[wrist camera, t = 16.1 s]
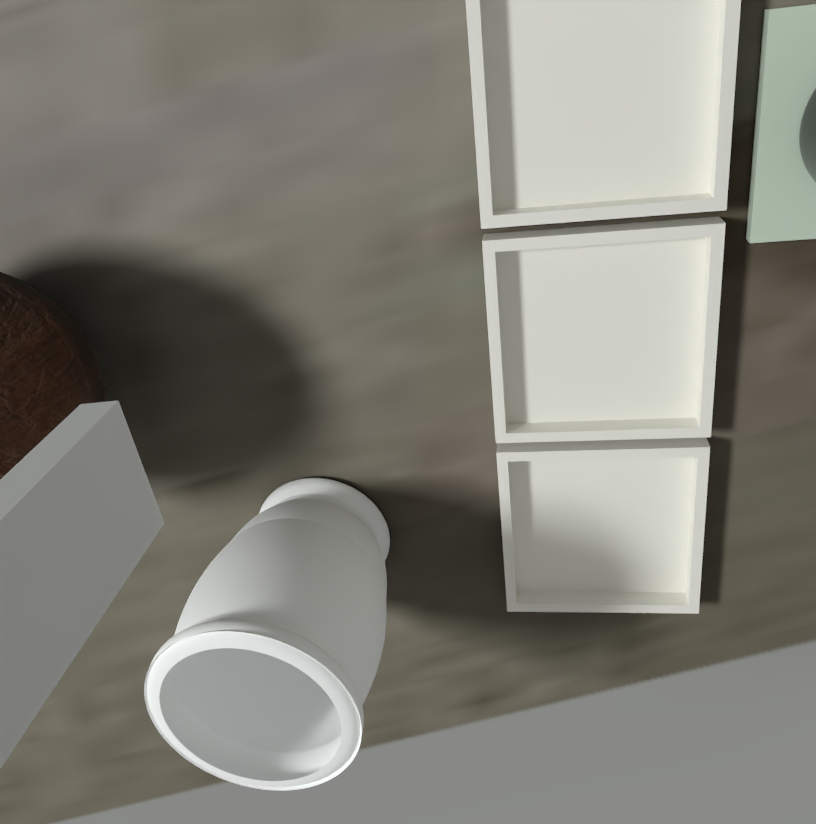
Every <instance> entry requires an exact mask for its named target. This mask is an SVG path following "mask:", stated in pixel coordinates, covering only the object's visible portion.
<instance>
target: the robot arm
mask: <svg viewBox="0 0 816 824" xmlns="http://www.w3.org/2000/svg"><path fill="white" fill-rule="evenodd" d="M163 525H164V521H163V518H162V516H161V513H160V510H159V508H158V505H157V502H156V500H155V497H154V494H153V491H152V489H151V486H150V483H149V481H148V478H147V475H146V473H145V470H144V467H143V465H142V462H141V459H140V457H139V454H138V451H137V449H136V446H135V443H134V441H133V438H132V435H131V433H130V430H129V427H128V425H127V422H126V419H125V417H124V414H123V411H122V409H121V406H120V403H119V401H108V402H97V403H87V404H80V405H79V406H78V407H77V408H76V409H75V410H74V411H73V412H72V413H71V414H70V415H69V416H67V417H66V418H65V419H64V420H63V421H62V422H61V423H60V424H59V425H58V426H57V427H56V428H55V429H54V430H53V431H52V432H50V433H49V434H48V435H47V436H46V437H45V438H44V439H43V440H42V441H41V442H40V443H39V444H38V445H37V446H36V447H35V448H33V449H32V450H31V451H30V452H29V453H28V454H27V455H26V456H25V457H24V458H23V459H22V460H21V461H20V462H19V463H17V464H16V465H15V466H14V467H13V468H12V469H11V470H10V471H9V472H8V473H7V474H6V475H5V476H4V477H3V478H2V479H0V769H1V767H2V766H3V764H4V763H5V761H6V760H7V758H8V757H9V755H10V754H11V752H12V751H13V749H14V748H15V746H16V745H17V743H18V742H19V740H20V739H21V737H22V736H23V734H24V733H25V731H26V730H27V728H28V727H29V725H30V724H31V722H32V721H33V719H34V718H35V716H36V715H37V713H38V712H39V710H40V709H41V707H42V706H43V704H44V703H45V701H46V700H47V698H48V697H49V695H50V694H51V692H52V691H53V689H54V688H55V686H56V685H57V683H58V682H59V680H60V679H61V677H62V676H63V674H64V673H65V671H66V670H67V668H68V667H69V665H70V664H71V663H72V661H73V660H74V658H75V657H76V655H77V654H78V652H79V651H80V649H81V648H82V646H83V645H84V643H85V642H86V640H87V639H88V637H89V636H90V634H91V633H92V631H93V630H94V628H95V627H96V625H97V624H98V622H99V621H100V619H101V618H102V616H103V615H104V613H105V612H106V610H107V609H108V607H109V606H110V604H111V603H112V601H113V600H114V598H115V597H116V595H117V594H118V592H119V591H120V589H121V588H122V586H123V585H124V583H125V582H126V580H127V579H128V577H129V576H130V574H131V573H132V571H133V570H134V568H135V567H136V565H137V564H138V562H139V561H140V559H141V558H142V556H143V555H144V553H145V552H146V550H147V549H148V547H149V546H150V544H151V543H152V541H153V540H154V538H155V537H156V535H157V534H158V532H159V531H160V529H161V528H162V526H163Z"/></svg>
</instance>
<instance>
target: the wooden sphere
mask: <svg viewBox="0 0 816 824" xmlns="http://www.w3.org/2000/svg"><path fill="white" fill-rule="evenodd" d="M97 402H108V401H107V392H106V386H105V381H104V377H103V373H102V370H101V367H100V364H99V362H98V359H97V357H96V355H95V352H94V350H93V349H92V347H91V345H90V343H89V341H88V340H87V338H86V337H85V335H84V334H83V332H82V331H81V329H80V328H79V327H78V326H77V324H76V323H75V322H74V321H73V320H72V319H71V317H70V316H69V315H68V314H67V313H66V312H65V311H64V310H63V309H62V308H60V307H59V306H58V305H57V304H56V303H55V302H54V301H52V300H51V299H50V298H48V297H47V296H46V295H44V294H43V293H41V292H40V291H38V290H37V289H35V288H33V287H32V286H30V285H28V284H26V283H24V282H22V281H20V280H18V279H16V278H14V277H12V276H9V275H7V274H4V273H2V272H0V479H2V478H3V477H4V476H5V475H6V474H7V473H8V472H9V471H10V470H11V469H12V468H13V467H14V466H15V465H16V464H17V463H19V462H20V461H21V460H22V459H23V458H24V457H25V456H26V455H27V454H28V453H29V452H30V451H31V450H32V449H33V448H35V447H36V446H37V445H38V444H39V443H40V442H41V441H42V440H43V439H44V438H45V437H46V436H47V435H48V434H49V433H50V432H52V431H53V430H54V429H55V428H56V427H57V426H58V425H59V424H60V423H61V422H62V421H63V420H64V419H65V418H66V417H67V416H69V415H70V414H71V413H72V412H73V411H74V410H75V409H76V408H77V407H78V406H79V405H80V404H87V403H97Z"/></svg>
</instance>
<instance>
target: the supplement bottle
mask: <svg viewBox="0 0 816 824" xmlns="http://www.w3.org/2000/svg"><path fill="white" fill-rule="evenodd" d="M799 145H800V152H801V157H802V160H803V163H804V165H805V167H806V169H807V171H808V173H809V175H810V176H811V177H812V178H813V180H814V181H815V182H816V88H815V90H814V92H813V93H812V95H811V97H810V99H809V101H808V103H807V105H806V107H805V110H804V113H803V116H802V120H801V125H800V132H799Z"/></svg>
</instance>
